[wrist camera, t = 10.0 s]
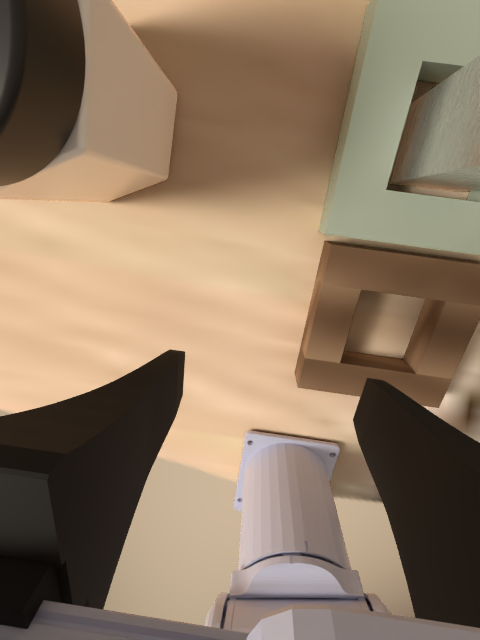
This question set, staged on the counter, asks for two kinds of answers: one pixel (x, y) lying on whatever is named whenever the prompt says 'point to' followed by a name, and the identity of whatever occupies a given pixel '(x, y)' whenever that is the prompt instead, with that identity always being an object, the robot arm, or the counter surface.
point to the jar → (79, 104)
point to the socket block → (429, 334)
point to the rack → (400, 126)
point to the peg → (443, 136)
